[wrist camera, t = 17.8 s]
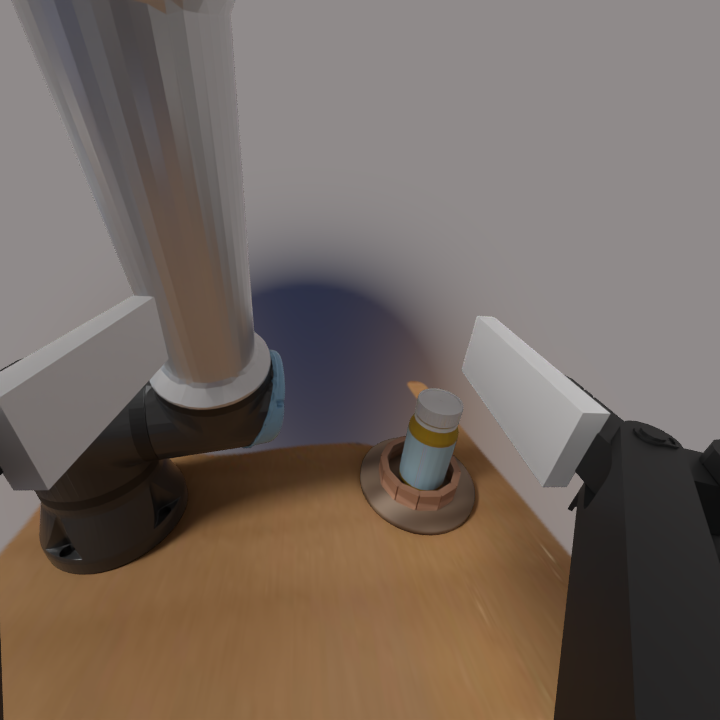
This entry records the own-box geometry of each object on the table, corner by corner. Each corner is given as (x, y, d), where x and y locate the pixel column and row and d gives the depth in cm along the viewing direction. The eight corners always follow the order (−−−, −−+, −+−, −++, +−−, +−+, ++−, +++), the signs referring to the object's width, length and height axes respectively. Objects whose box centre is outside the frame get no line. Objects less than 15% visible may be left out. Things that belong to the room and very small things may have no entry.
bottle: (437, 503, 46) (463, 424, 39) (392, 484, 49) (409, 406, 41) (445, 469, 52) (469, 395, 45) (405, 454, 54) (421, 381, 47)
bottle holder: (338, 464, 52) (340, 447, 50) (417, 429, 62) (421, 413, 60) (412, 561, 40) (418, 542, 38) (497, 498, 49) (505, 480, 48)
